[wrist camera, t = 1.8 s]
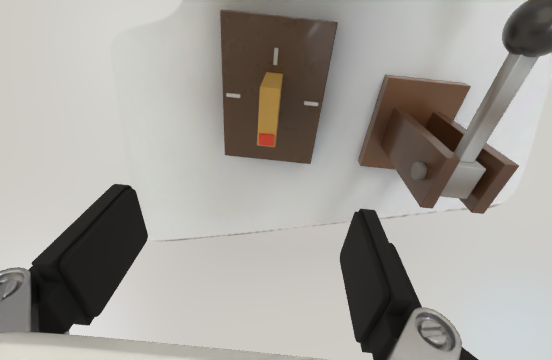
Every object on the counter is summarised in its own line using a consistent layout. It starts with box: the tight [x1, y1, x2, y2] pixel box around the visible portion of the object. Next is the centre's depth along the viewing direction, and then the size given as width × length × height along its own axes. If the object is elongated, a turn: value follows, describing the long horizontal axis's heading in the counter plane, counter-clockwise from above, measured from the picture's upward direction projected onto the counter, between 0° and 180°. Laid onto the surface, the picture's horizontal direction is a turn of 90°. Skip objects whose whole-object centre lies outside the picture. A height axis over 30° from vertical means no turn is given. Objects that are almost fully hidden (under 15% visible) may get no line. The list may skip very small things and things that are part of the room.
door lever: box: [440, 0, 552, 199], centre depth 17 cm, size 13×3×3 cm, turn 175°
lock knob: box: [257, 72, 283, 147], centre depth 23 cm, size 5×2×6 cm, turn 175°
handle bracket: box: [358, 75, 519, 213], centre depth 23 cm, size 10×8×12 cm
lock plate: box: [220, 10, 337, 164], centre depth 26 cm, size 14×10×2 cm
